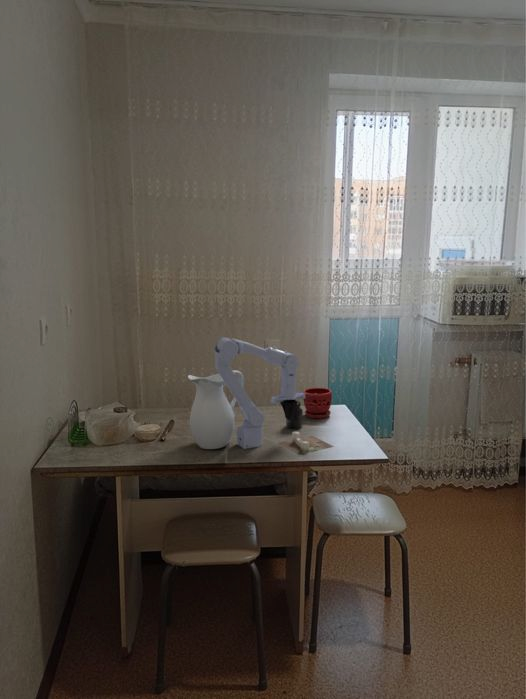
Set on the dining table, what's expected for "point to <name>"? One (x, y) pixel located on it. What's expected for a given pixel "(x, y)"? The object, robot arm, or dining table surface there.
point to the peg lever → (300, 441)
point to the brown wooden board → (313, 445)
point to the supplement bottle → (295, 418)
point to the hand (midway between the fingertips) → (288, 418)
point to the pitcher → (212, 412)
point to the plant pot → (317, 402)
